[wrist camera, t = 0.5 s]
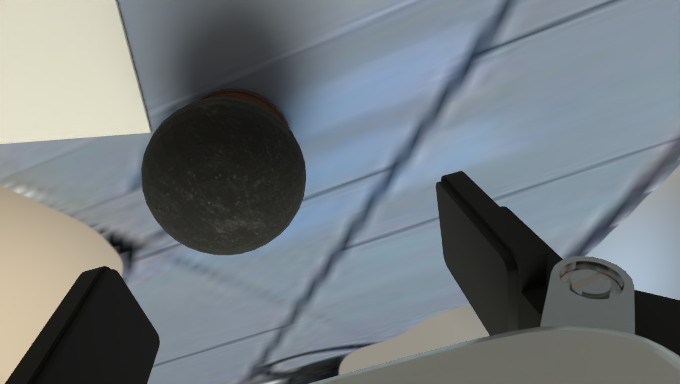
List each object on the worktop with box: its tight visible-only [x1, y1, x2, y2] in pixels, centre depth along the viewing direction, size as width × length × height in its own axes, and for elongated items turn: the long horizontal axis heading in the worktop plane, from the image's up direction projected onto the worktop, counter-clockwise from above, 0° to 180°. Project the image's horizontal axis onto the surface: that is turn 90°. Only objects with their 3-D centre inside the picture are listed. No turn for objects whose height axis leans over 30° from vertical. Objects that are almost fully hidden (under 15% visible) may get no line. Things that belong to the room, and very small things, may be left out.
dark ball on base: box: [142, 89, 306, 255], centre depth 34 cm, size 13×13×15 cm
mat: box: [0, 0, 152, 144], centre depth 34 cm, size 16×16×1 cm
